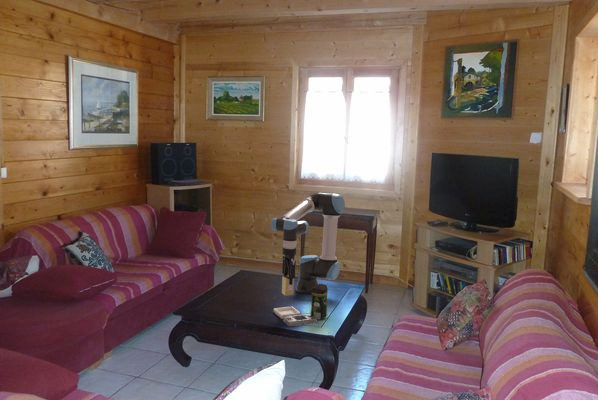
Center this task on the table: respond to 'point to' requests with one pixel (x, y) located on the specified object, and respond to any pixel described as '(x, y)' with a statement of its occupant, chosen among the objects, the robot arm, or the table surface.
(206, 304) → the table surface
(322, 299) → the coffee jar
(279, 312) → the tray
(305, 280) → the robot arm
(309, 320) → the rail
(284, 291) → the block
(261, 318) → the table surface
